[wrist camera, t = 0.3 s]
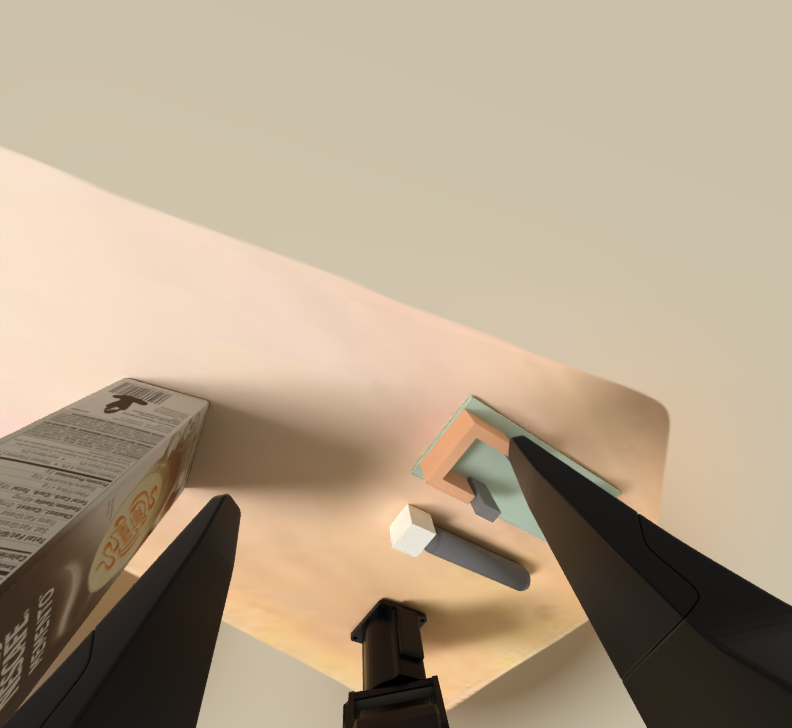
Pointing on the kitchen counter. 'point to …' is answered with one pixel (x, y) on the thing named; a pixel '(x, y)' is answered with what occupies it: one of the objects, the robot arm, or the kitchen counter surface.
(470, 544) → the rod
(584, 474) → the clip board
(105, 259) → the kitchen counter surface
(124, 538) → the coffee box
